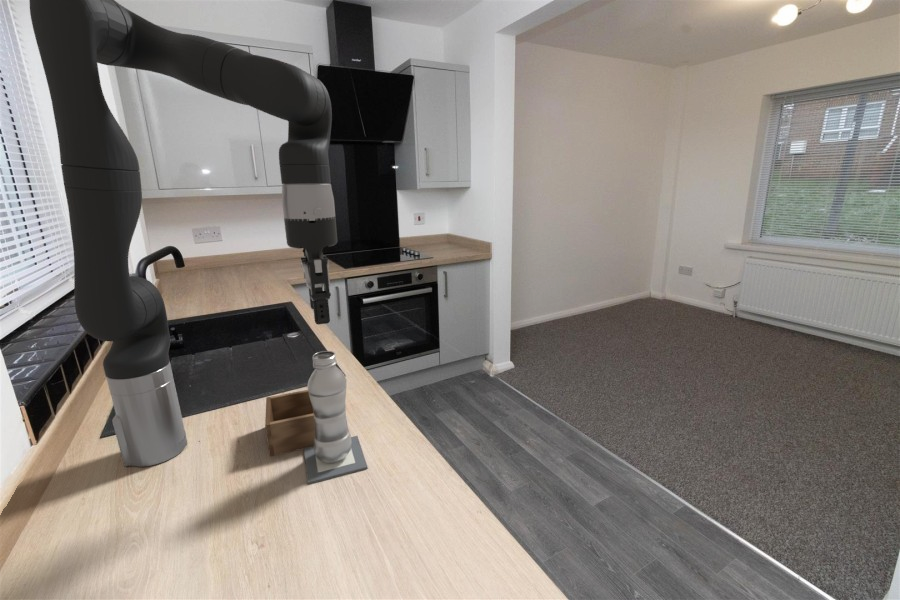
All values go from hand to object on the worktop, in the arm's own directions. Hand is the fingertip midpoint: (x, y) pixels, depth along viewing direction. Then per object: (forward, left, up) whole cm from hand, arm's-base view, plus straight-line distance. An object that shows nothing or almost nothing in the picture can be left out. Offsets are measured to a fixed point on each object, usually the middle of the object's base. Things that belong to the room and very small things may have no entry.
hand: (320, 315), depth 67 cm
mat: (0, 0, -28) cm, 28 cm away
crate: (-6, +11, -28) cm, 30 cm away
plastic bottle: (0, 0, -27) cm, 27 cm away
